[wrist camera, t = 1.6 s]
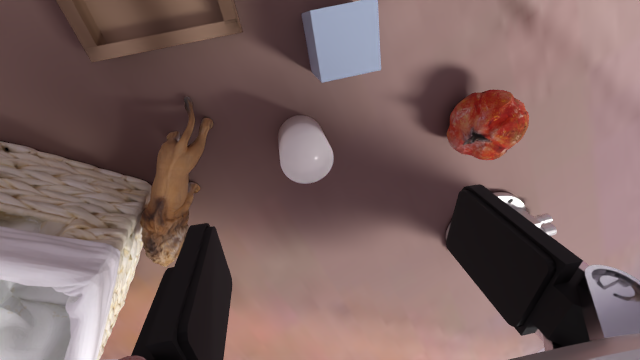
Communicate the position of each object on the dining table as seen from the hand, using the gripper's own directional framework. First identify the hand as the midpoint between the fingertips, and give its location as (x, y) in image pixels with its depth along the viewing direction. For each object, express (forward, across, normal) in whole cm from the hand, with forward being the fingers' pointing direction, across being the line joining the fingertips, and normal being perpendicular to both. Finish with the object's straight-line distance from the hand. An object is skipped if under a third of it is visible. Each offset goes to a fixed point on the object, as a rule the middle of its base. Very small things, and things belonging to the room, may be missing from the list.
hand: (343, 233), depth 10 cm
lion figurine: (+21, +12, +6) cm, 25 cm away
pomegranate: (+21, -20, +4) cm, 29 cm away
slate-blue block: (+21, -4, -5) cm, 22 cm away
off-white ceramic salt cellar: (+21, 0, +4) cm, 21 cm away
